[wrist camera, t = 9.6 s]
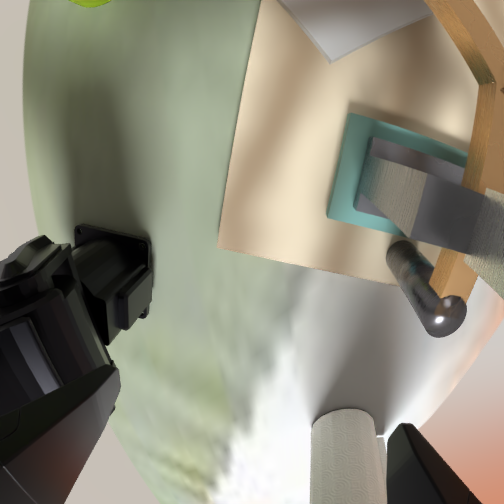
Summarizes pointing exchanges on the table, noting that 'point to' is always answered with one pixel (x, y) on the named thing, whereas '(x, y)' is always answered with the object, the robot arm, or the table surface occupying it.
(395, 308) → the table surface
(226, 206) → the beige rectangular panel
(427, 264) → the wooden crank handle
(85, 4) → the soap dispenser
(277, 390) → the table surface
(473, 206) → the grey boxy piece
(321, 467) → the paper towel roll
